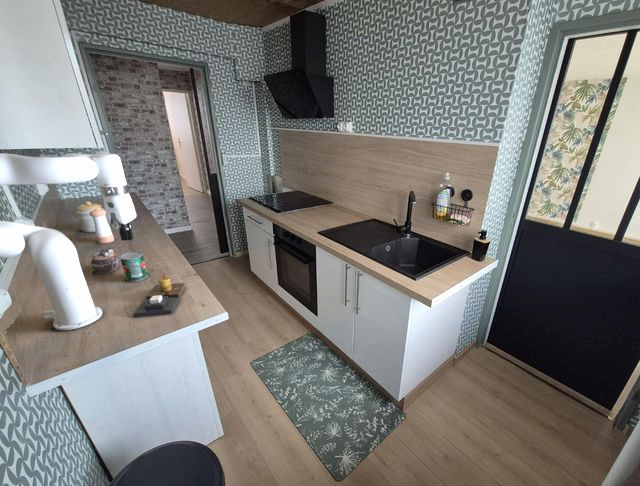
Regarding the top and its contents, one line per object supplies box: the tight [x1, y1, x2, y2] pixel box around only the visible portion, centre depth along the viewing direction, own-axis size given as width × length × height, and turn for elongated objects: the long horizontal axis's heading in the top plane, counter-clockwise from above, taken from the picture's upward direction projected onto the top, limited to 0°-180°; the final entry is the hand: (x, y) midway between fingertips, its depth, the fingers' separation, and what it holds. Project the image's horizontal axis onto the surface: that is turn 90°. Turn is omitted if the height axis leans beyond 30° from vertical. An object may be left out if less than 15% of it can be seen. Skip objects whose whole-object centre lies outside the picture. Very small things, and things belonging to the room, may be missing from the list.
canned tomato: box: [119, 251, 149, 283], centre depth 129 cm, size 8×8×11 cm
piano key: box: [149, 295, 162, 304], centre depth 110 cm, size 3×3×2 cm
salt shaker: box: [89, 208, 115, 244], centre depth 163 cm, size 7×7×19 cm
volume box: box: [145, 282, 187, 300], centre depth 120 cm, size 11×9×3 cm
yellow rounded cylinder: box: [157, 275, 172, 292], centre depth 118 cm, size 4×4×5 cm
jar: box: [75, 200, 109, 233], centre depth 179 cm, size 13×13×18 cm
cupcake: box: [90, 248, 119, 275], centre depth 134 cm, size 10×10×10 cm
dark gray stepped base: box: [133, 296, 181, 318], centre depth 110 cm, size 12×9×4 cm
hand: (127, 239), depth 108 cm, fingers closed
